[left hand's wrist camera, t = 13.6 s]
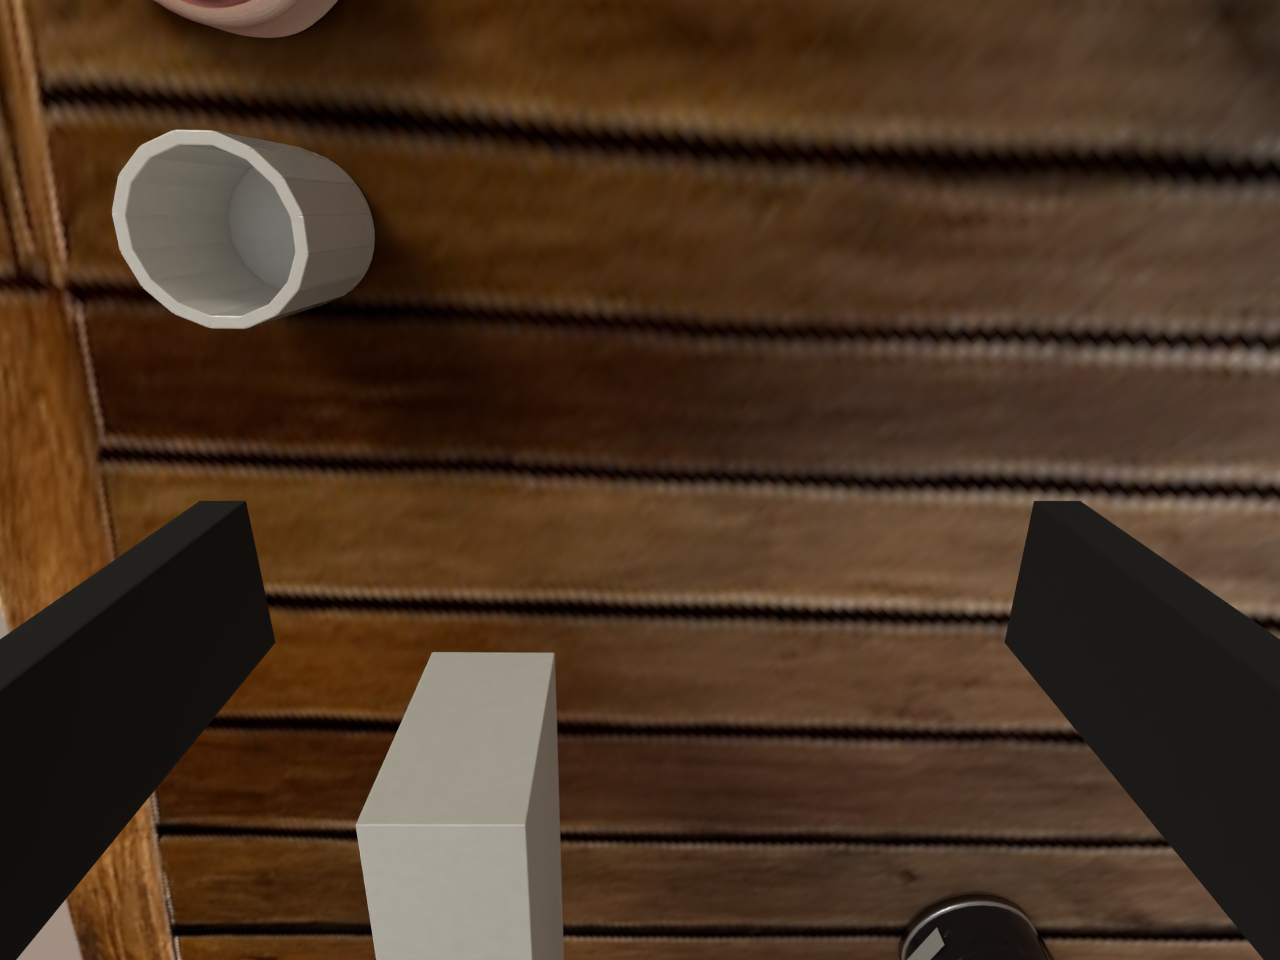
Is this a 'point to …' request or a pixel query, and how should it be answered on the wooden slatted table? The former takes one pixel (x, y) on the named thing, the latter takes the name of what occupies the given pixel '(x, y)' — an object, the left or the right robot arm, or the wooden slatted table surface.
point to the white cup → (240, 227)
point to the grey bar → (469, 816)
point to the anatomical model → (253, 15)
